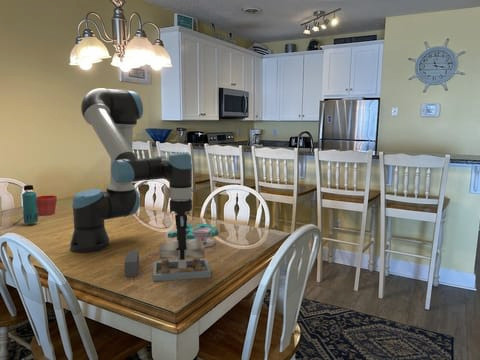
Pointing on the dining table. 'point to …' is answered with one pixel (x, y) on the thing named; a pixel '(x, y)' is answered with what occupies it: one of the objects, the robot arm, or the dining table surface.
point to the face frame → (166, 275)
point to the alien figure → (190, 233)
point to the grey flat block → (170, 250)
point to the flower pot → (46, 205)
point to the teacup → (203, 236)
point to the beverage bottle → (29, 205)
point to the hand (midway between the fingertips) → (181, 262)
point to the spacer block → (131, 263)
